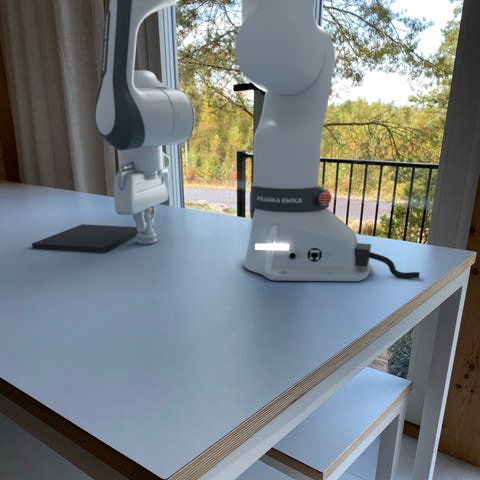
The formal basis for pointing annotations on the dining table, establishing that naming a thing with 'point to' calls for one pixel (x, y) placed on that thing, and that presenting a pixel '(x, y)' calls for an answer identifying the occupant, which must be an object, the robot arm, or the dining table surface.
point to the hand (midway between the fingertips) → (146, 229)
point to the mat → (88, 238)
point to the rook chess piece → (147, 231)
